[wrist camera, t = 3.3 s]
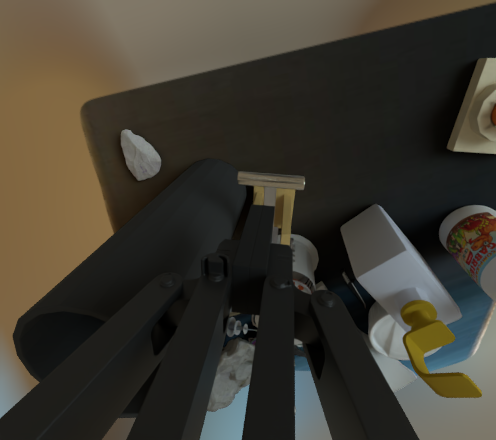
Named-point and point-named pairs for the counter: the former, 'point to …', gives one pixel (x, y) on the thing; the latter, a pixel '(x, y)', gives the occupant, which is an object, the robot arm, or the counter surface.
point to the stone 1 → (139, 156)
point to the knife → (353, 287)
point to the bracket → (280, 211)
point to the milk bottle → (473, 243)
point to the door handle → (385, 362)
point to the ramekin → (387, 334)
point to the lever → (271, 186)
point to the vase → (133, 266)
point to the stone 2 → (231, 373)
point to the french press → (301, 268)
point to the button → (494, 115)
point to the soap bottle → (406, 293)
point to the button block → (477, 112)
